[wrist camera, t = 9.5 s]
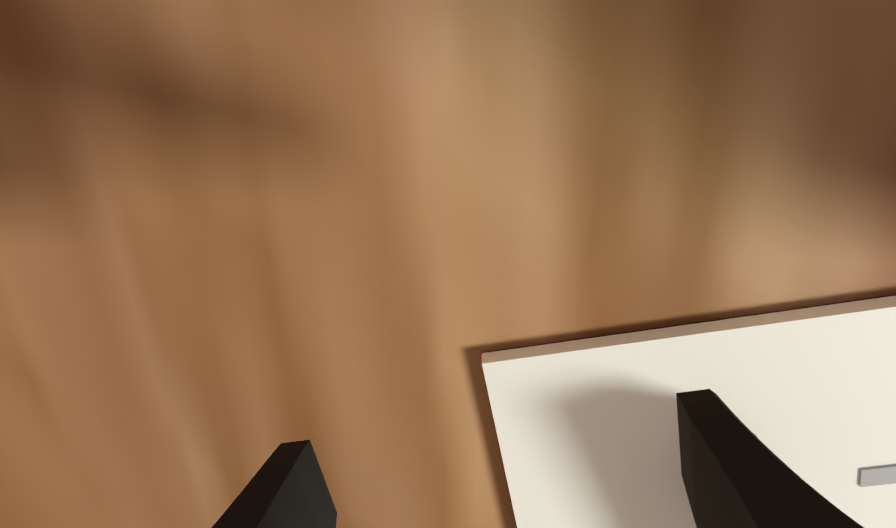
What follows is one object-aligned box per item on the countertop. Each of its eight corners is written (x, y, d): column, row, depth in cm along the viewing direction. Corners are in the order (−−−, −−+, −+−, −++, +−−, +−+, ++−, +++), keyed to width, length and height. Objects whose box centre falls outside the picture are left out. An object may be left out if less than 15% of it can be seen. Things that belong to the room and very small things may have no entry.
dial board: (990, 282, 22) (1005, 293, 21) (939, 585, 28) (949, 600, 28) (481, 353, 24) (481, 365, 24) (539, 620, 30) (540, 635, 30)
